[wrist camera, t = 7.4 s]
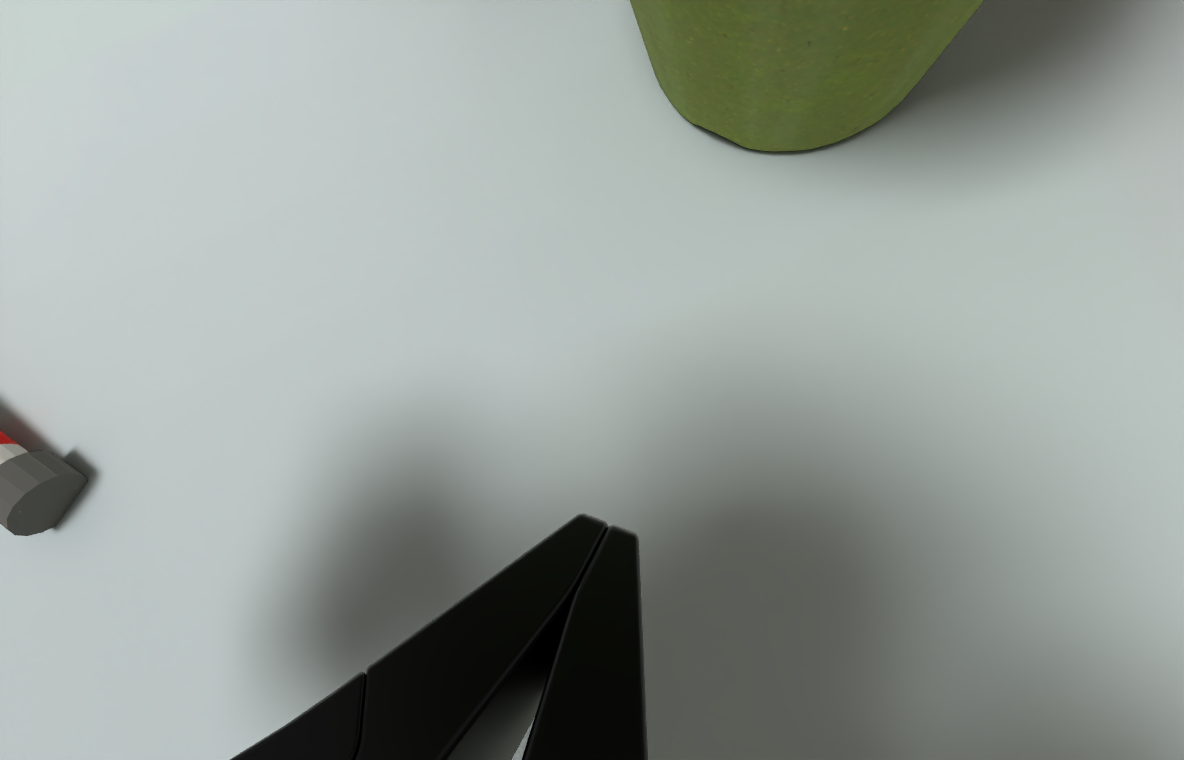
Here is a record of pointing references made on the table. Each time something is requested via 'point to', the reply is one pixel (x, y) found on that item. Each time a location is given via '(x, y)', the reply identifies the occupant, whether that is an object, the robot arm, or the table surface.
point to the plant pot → (793, 62)
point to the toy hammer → (34, 488)
